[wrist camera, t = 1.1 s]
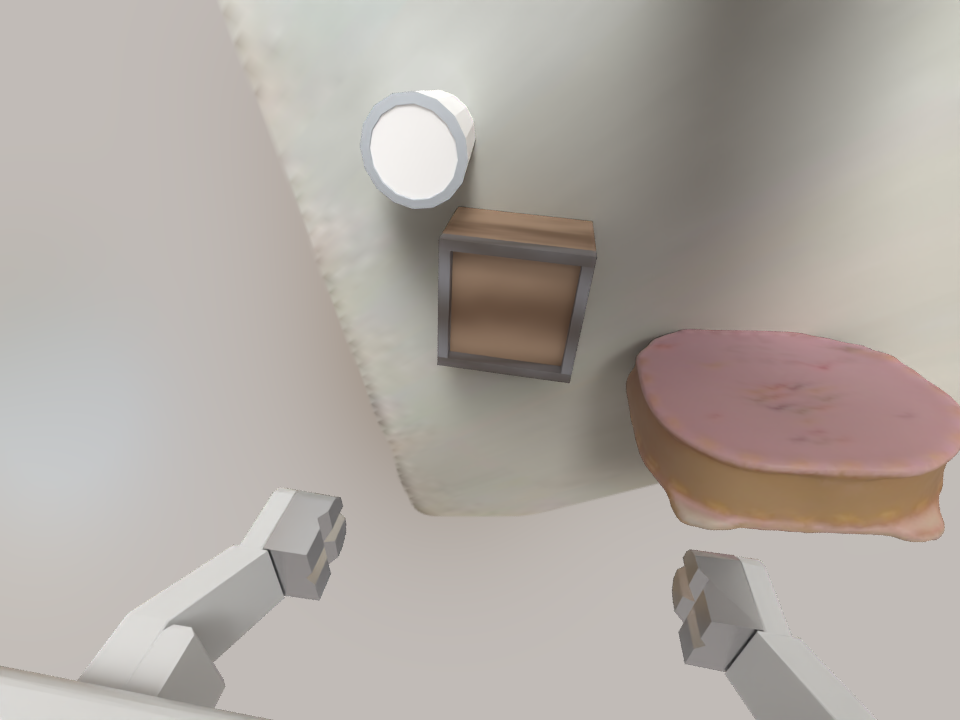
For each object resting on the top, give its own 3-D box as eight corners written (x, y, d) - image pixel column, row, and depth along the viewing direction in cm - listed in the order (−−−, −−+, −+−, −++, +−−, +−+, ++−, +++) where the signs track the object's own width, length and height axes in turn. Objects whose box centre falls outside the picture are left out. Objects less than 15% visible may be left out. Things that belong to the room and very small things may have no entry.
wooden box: (458, 206, 38) (439, 238, 32) (592, 221, 37) (596, 256, 31) (454, 321, 44) (437, 364, 38) (569, 336, 43) (569, 383, 38)
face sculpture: (620, 384, 46) (642, 536, 32) (621, 321, 42) (647, 464, 28) (859, 379, 41) (1001, 549, 28) (885, 308, 38) (1063, 467, 24)
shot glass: (392, 174, 37) (361, 201, 32) (392, 73, 33) (356, 83, 28) (479, 187, 37) (463, 217, 31) (489, 86, 33) (472, 99, 27)
